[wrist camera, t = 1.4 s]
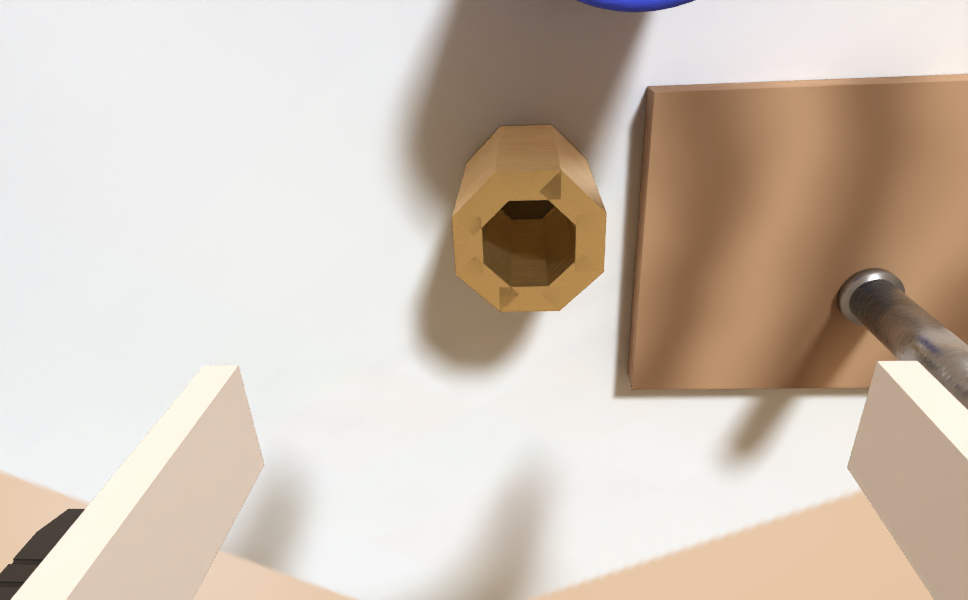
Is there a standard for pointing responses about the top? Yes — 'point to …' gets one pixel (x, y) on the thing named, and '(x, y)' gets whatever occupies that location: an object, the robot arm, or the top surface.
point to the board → (793, 226)
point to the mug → (635, 4)
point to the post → (905, 327)
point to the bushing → (528, 221)
